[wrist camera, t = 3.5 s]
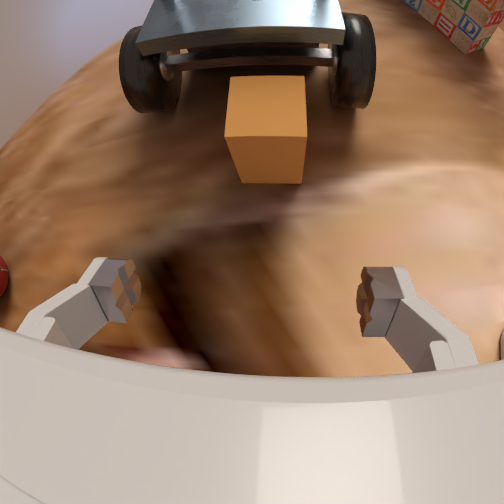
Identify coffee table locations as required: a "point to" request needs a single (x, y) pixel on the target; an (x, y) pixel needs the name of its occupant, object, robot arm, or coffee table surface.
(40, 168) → the coffee table surface
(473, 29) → the stack of blocks
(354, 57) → the trolley
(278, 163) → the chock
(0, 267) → the kendama
